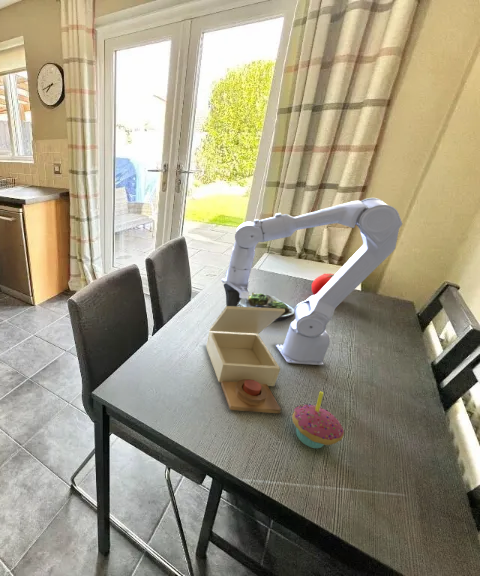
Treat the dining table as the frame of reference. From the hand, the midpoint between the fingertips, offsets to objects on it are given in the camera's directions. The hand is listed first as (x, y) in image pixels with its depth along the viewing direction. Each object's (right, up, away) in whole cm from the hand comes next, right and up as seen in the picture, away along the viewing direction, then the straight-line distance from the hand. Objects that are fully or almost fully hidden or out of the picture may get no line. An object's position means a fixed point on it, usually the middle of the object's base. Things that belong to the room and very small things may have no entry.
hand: (230, 308), depth 91 cm
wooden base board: (-4, -20, -18) cm, 27 cm away
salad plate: (+21, -2, +20) cm, 29 cm away
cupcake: (+4, -25, -27) cm, 38 cm away
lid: (-1, -3, -10) cm, 11 cm away
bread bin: (-1, -15, -7) cm, 17 cm away
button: (-4, -18, -19) cm, 26 cm away
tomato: (+49, +6, +25) cm, 55 cm away
